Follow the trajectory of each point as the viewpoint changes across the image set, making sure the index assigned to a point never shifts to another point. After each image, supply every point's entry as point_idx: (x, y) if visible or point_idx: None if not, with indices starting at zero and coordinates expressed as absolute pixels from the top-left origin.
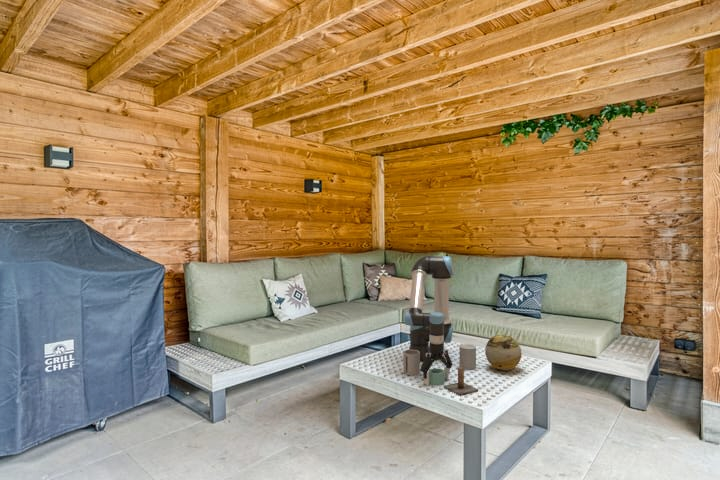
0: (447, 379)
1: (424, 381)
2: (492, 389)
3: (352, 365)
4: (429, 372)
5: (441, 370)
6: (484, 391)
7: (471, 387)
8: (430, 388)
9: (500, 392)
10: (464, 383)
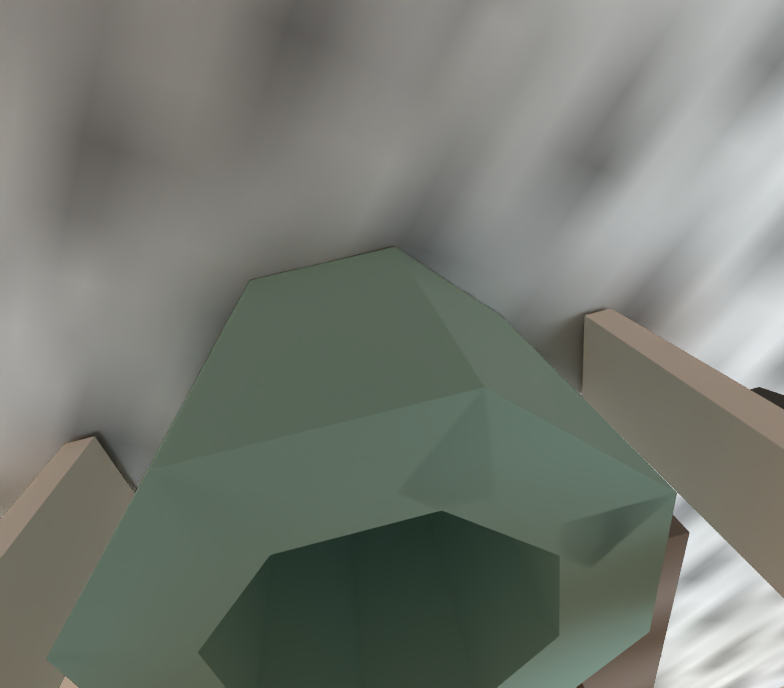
0: (592, 406)
1: (38, 488)
2: (772, 645)
3: None
4: (93, 658)
5: (576, 616)
6: (679, 669)
7: (634, 663)
8: None
9: (760, 683)
10: (666, 583)
